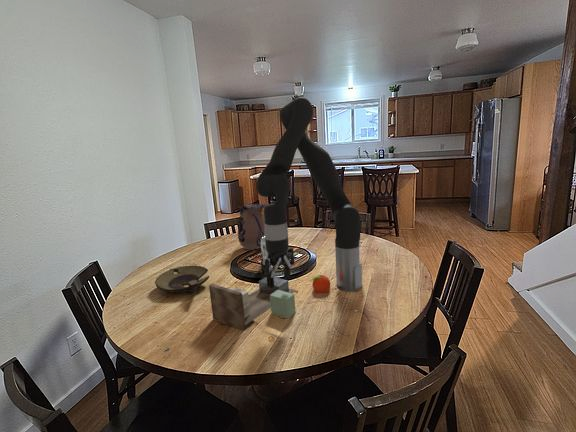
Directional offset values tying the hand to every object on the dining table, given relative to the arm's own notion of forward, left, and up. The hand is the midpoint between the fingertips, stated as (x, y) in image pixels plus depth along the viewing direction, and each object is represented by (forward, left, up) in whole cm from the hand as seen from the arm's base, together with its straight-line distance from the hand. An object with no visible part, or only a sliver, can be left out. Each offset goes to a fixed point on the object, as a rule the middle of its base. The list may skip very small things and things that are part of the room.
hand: (279, 282), depth 106 cm
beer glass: (+31, -31, -12) cm, 46 cm away
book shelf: (+12, -1, -12) cm, 17 cm away
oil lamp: (+50, +4, -12) cm, 52 cm away
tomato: (-3, -21, -12) cm, 24 cm away
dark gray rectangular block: (+12, -11, -11) cm, 20 cm away
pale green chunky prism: (-1, 0, -12) cm, 12 cm away
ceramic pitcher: (+59, -53, -12) cm, 80 cm away
